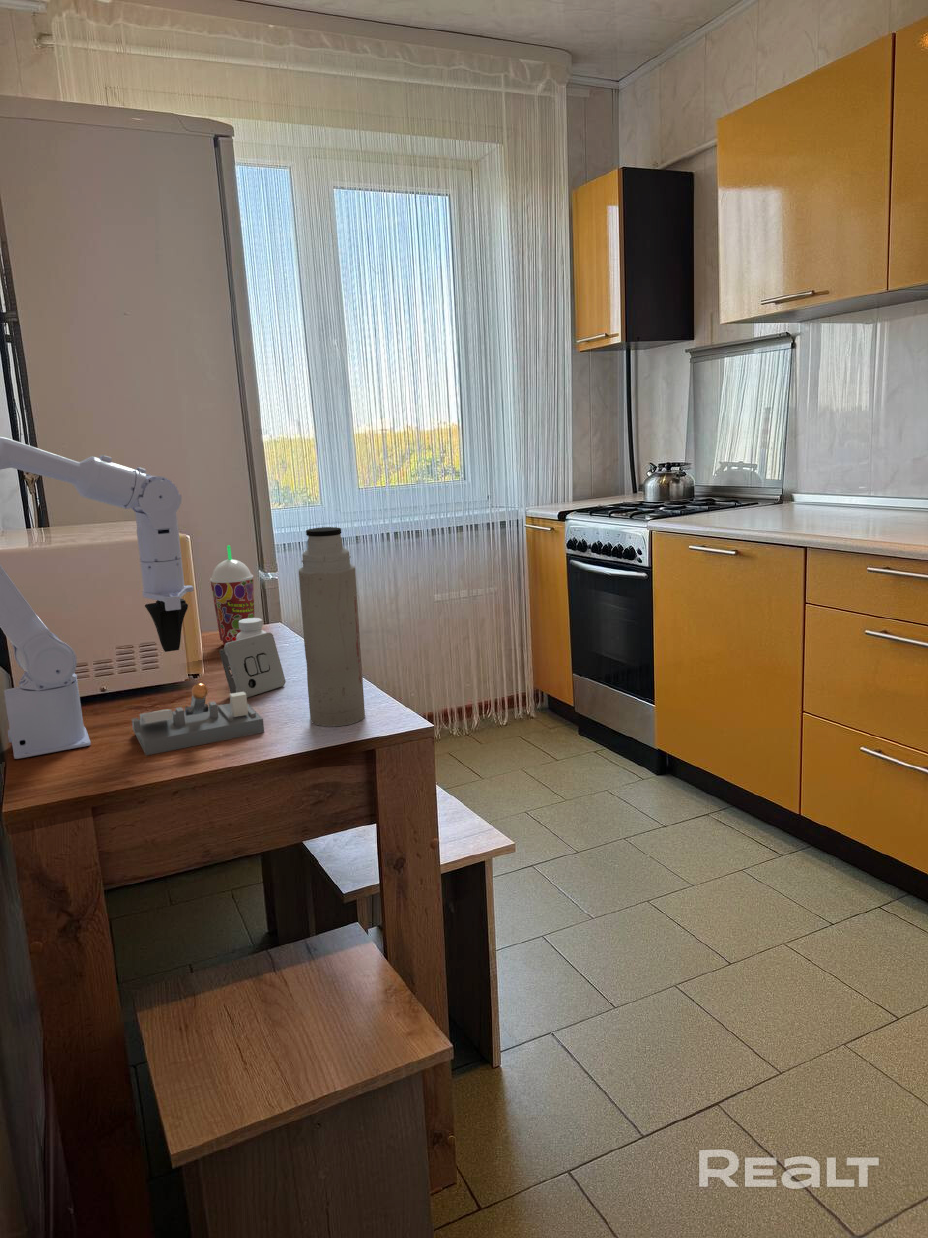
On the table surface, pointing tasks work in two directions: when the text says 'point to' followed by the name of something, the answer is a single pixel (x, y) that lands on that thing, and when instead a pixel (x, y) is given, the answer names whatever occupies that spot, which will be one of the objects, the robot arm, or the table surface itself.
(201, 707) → the lever
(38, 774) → the table surface
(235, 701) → the off-white rectangular block
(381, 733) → the table surface
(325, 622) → the thermos bottle
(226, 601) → the smoothie
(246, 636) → the supplement bottle
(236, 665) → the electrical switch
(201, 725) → the panel
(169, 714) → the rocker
